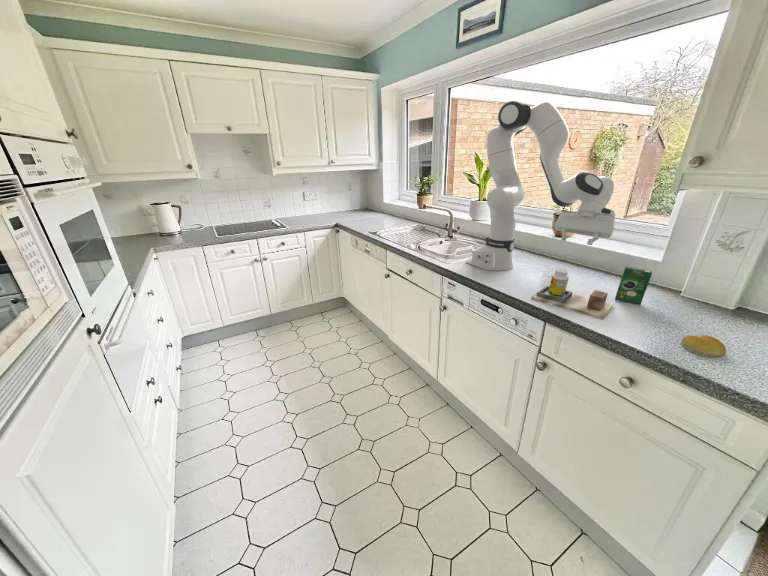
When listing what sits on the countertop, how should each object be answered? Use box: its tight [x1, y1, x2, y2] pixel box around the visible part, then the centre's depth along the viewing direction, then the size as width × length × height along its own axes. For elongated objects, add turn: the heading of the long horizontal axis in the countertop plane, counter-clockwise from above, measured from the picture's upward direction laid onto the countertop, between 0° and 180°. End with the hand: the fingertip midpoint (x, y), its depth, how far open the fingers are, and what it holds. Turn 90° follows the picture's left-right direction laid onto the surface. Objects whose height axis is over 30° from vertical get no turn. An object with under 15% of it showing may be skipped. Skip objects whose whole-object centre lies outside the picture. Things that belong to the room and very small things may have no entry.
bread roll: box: [681, 335, 727, 358], centre depth 89 cm, size 8×9×4 cm
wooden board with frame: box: [531, 285, 614, 320], centre depth 118 cm, size 24×13×6 cm, turn 45°
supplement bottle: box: [548, 268, 570, 298], centre depth 121 cm, size 6×6×10 cm
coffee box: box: [614, 266, 653, 306], centre depth 116 cm, size 8×3×13 cm, turn 53°
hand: (575, 241), depth 125 cm, fingers open, 8 cm apart
